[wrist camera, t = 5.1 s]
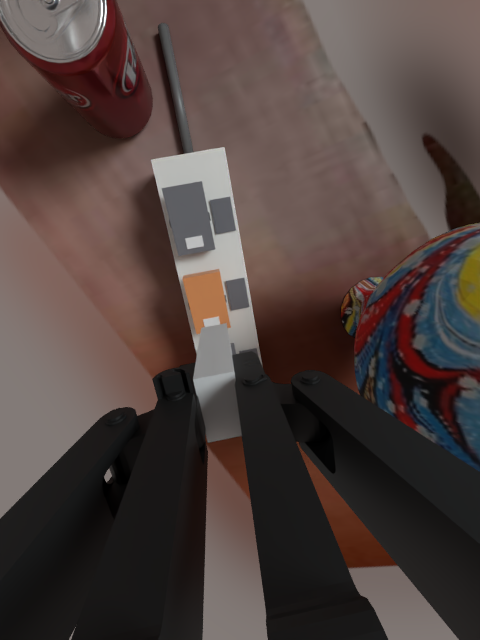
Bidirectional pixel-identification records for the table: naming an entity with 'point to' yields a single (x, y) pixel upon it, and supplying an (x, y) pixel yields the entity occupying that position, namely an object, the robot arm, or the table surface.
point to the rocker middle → (206, 299)
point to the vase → (424, 341)
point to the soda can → (83, 59)
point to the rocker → (189, 218)
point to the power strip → (222, 214)
